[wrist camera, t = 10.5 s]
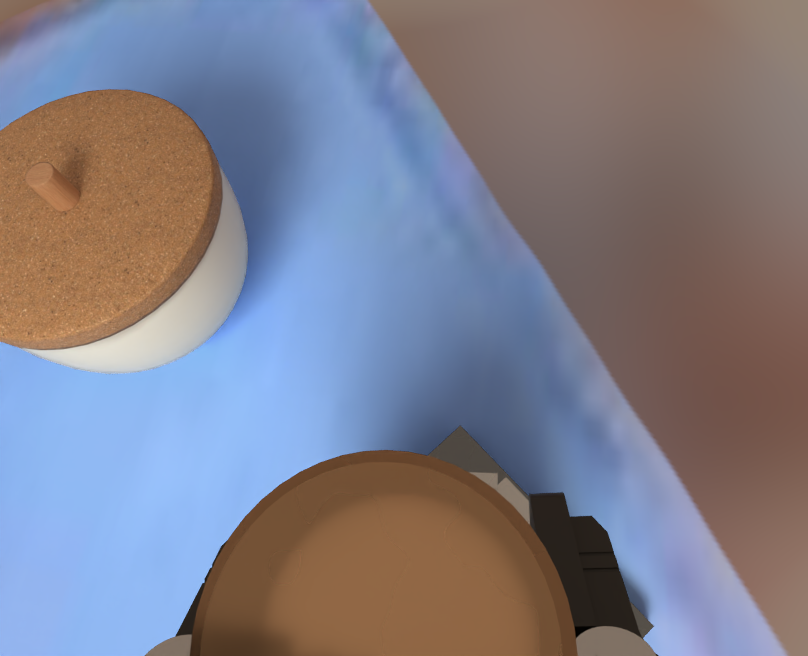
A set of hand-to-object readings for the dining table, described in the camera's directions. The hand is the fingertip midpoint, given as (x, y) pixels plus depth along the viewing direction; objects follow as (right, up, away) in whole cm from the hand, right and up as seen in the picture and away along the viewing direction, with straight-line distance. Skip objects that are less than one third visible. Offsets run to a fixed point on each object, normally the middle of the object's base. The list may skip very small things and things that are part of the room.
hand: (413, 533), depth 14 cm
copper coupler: (+1, -3, +3) cm, 5 cm away
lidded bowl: (-13, +6, +21) cm, 26 cm away
